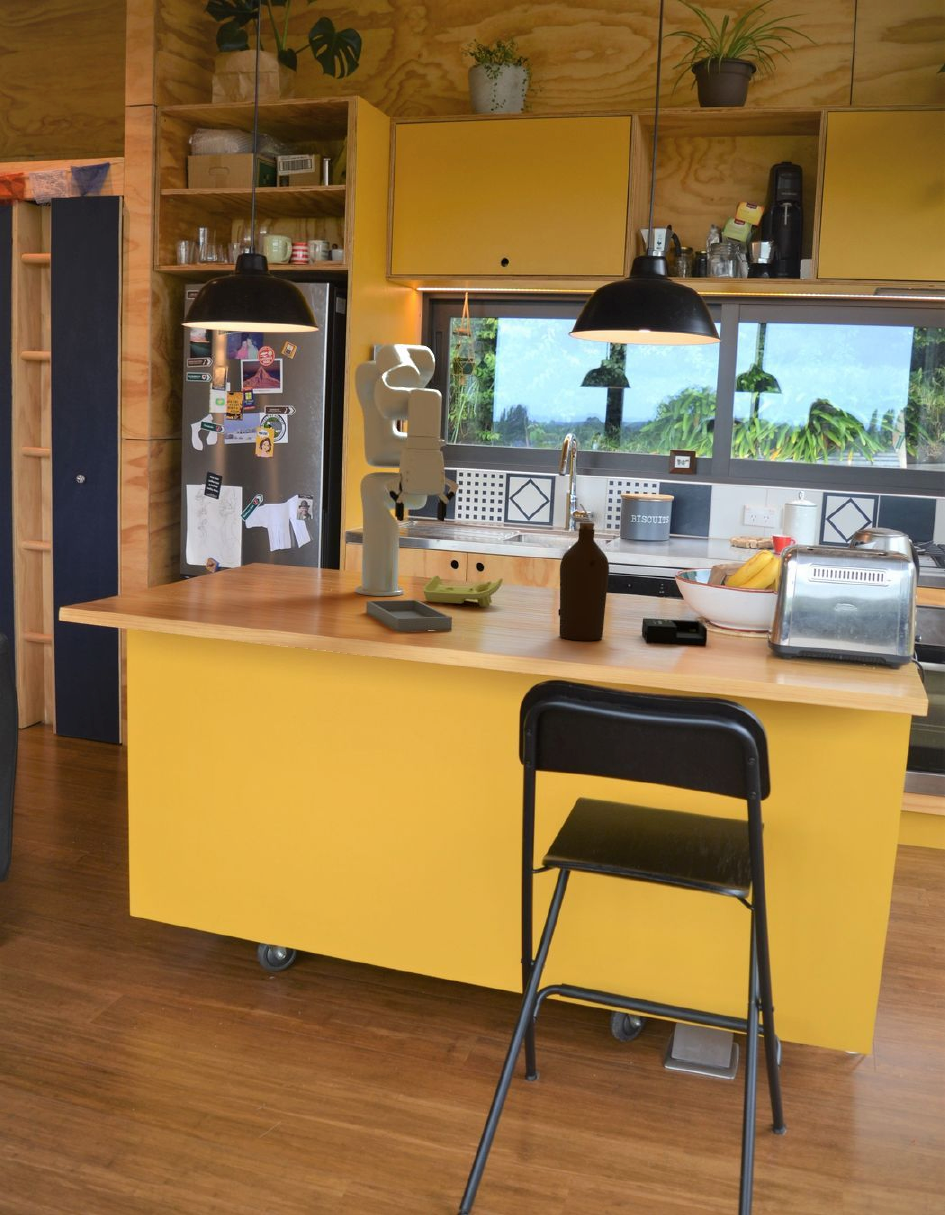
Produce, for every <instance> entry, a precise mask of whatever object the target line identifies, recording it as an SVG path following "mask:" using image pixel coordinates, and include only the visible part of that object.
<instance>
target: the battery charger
mask: <svg viewBox="0 0 945 1215" xmlns="http://www.w3.org/2000/svg"><path fill="white" fill-rule="evenodd" d="M641 636H642V638H643V639H644V641H645V643H646V644H654V645H656V644H657V645H673V646H674V645H675V646H694V647H706V646H707V641H708V628H707V627H706V626H705V624H703V622H702V621H701V620H689V619H687V620H684V619H667V618H665V619H664V618H645V617H644V618H643V619H642V625H641Z"/></svg>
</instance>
